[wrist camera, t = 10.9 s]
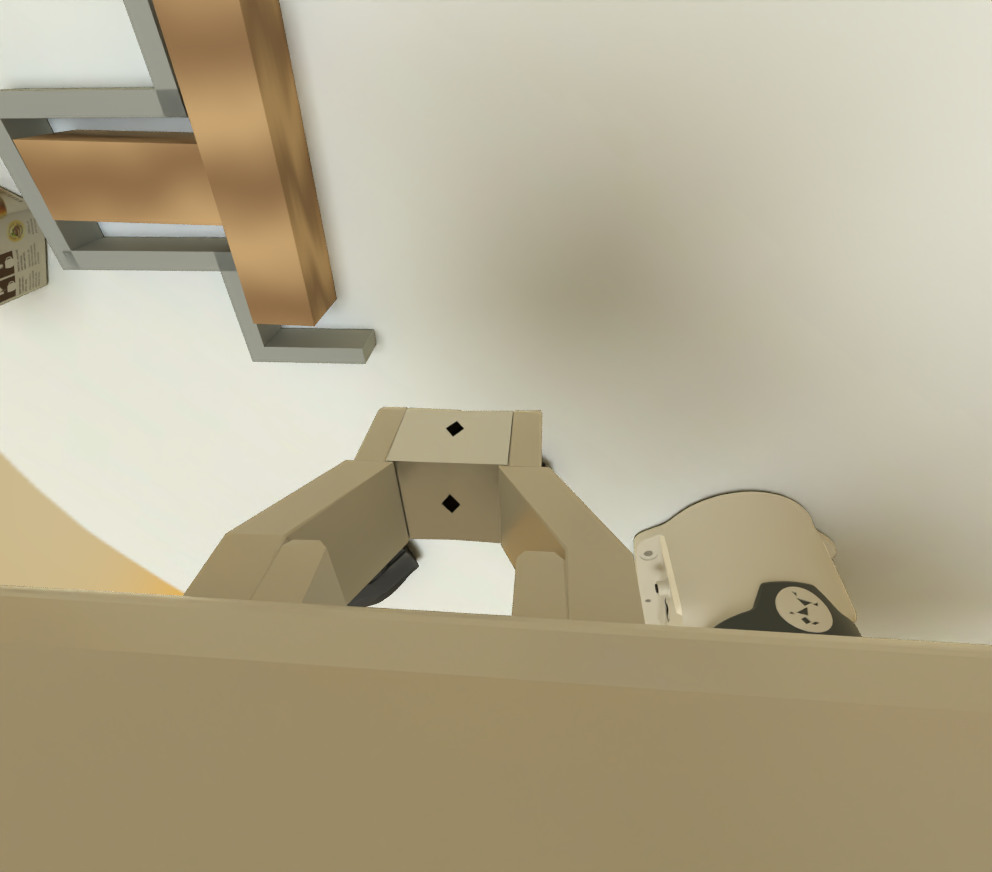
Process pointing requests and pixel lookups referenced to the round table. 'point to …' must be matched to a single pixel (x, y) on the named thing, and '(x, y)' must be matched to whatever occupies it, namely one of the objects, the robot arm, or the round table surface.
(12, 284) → the coffee box
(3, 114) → the T bay
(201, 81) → the T block
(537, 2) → the round table surface
